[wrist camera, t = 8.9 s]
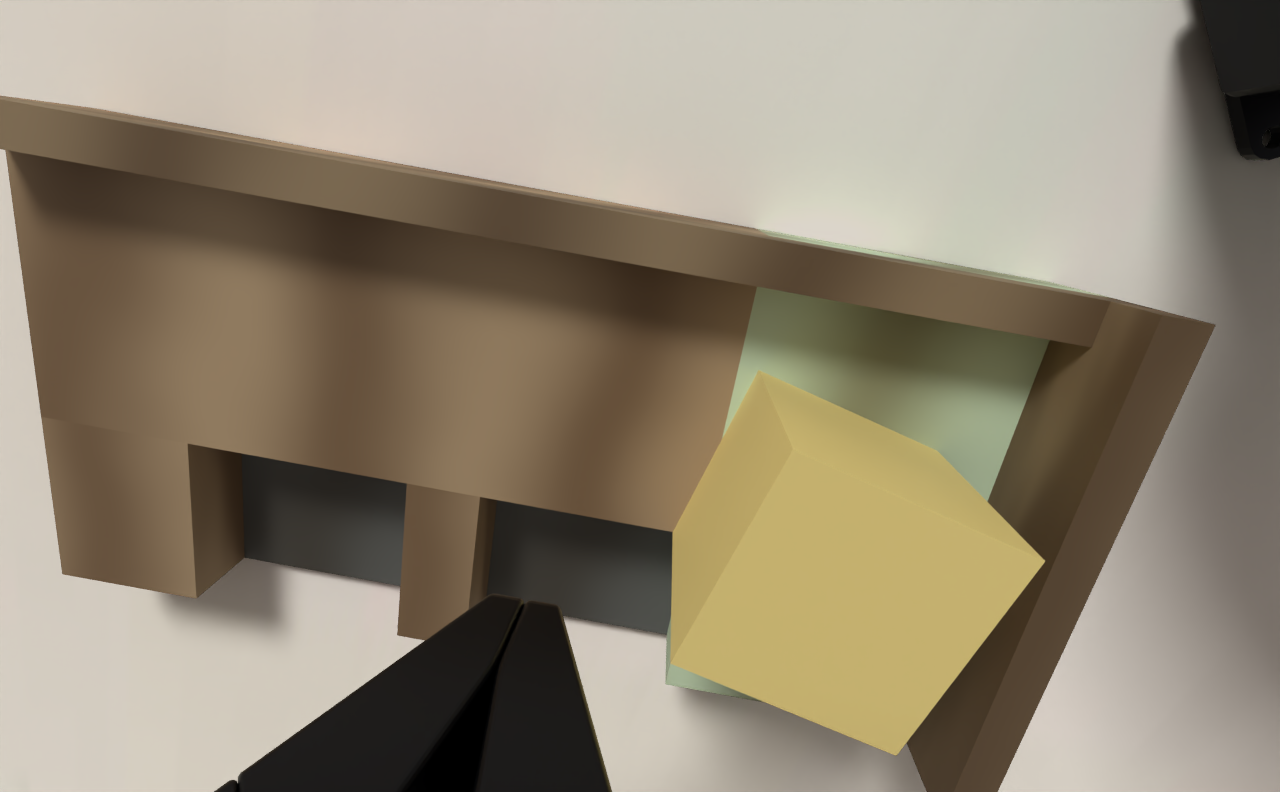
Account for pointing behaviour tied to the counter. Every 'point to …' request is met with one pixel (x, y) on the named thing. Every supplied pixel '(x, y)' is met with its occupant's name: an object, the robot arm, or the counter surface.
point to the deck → (529, 386)
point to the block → (837, 567)
